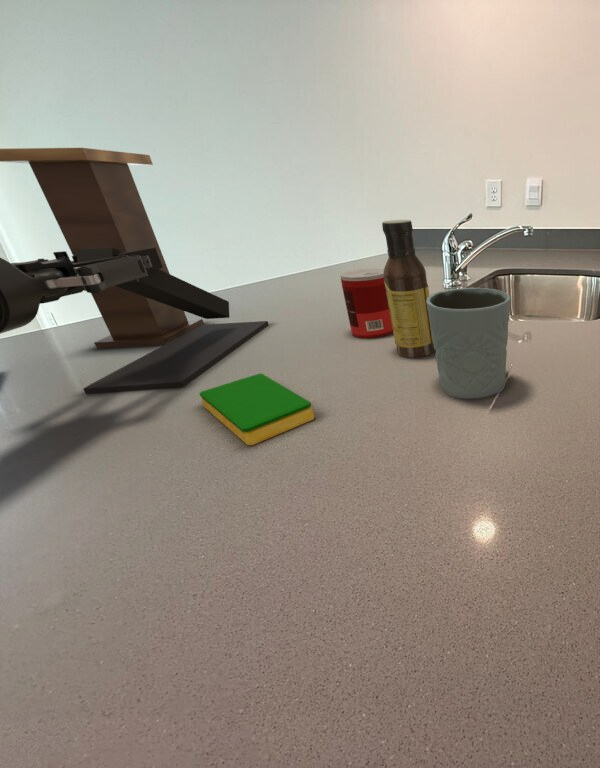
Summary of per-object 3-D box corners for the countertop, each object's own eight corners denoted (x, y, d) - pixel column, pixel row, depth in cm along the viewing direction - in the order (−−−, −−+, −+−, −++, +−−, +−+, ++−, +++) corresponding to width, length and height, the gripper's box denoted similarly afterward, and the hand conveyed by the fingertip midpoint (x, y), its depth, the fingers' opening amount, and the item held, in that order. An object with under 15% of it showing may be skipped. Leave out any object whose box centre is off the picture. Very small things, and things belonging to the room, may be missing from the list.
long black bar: (112, 270, 50) (112, 247, 50) (76, 272, 49) (76, 248, 49) (229, 317, 74) (229, 301, 74) (206, 319, 73) (205, 302, 73)
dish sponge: (250, 449, 42) (242, 429, 41) (204, 409, 50) (197, 391, 49) (316, 420, 47) (311, 402, 46) (266, 388, 55) (260, 372, 54)
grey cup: (470, 365, 60) (464, 284, 55) (527, 381, 55) (527, 293, 50) (419, 391, 53) (407, 300, 48) (479, 412, 48) (473, 312, 42)
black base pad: (184, 389, 55) (180, 381, 54) (87, 396, 54) (82, 388, 53) (269, 326, 80) (267, 320, 79) (204, 330, 79) (202, 324, 78)
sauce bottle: (413, 344, 69) (396, 218, 60) (444, 349, 67) (430, 218, 58) (387, 357, 64) (365, 221, 55) (419, 363, 62) (400, 222, 53)
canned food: (405, 329, 77) (396, 269, 72) (376, 342, 70) (364, 278, 65) (373, 324, 80) (363, 267, 75) (343, 337, 73) (329, 275, 68)
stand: (166, 348, 70) (81, 147, 57) (89, 353, 69) (-15, 148, 55) (210, 324, 82) (149, 154, 69) (146, 327, 81) (72, 156, 68)
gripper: (-134, 346, 36) (83, 288, 57) (78, 334, 38) (212, 282, 59) (-200, 259, 33) (55, 232, 54) (35, 250, 35) (194, 227, 55)
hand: (137, 258), depth 56 cm, fingers closed on long black bar, 4 cm apart
